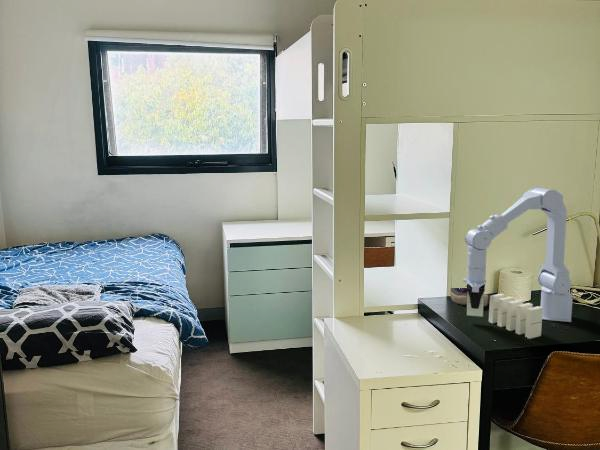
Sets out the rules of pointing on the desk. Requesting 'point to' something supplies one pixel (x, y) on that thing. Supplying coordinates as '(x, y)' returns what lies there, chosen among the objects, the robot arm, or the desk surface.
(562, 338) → the desk surface
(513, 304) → the domino
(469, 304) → the domino
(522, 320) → the domino
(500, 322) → the domino
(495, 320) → the domino
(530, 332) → the domino
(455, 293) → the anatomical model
